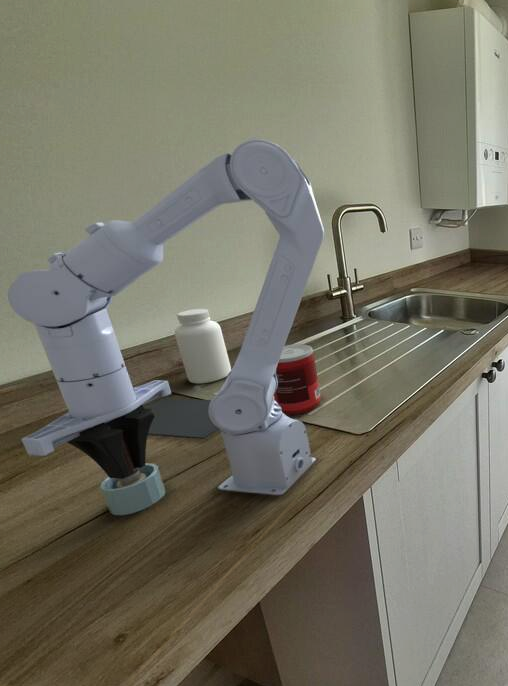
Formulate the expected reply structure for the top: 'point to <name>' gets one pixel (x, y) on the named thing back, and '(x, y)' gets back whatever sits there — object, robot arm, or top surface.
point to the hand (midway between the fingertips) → (128, 471)
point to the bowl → (134, 492)
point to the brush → (129, 467)
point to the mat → (181, 418)
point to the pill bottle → (201, 347)
